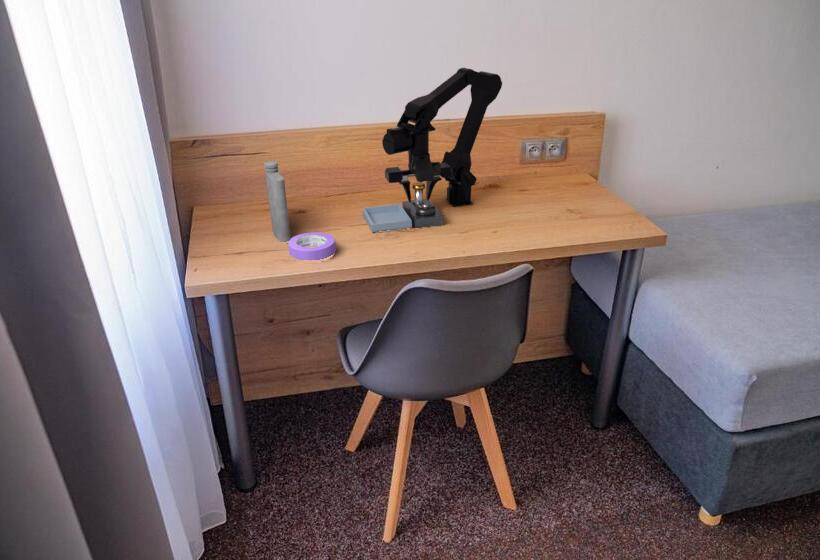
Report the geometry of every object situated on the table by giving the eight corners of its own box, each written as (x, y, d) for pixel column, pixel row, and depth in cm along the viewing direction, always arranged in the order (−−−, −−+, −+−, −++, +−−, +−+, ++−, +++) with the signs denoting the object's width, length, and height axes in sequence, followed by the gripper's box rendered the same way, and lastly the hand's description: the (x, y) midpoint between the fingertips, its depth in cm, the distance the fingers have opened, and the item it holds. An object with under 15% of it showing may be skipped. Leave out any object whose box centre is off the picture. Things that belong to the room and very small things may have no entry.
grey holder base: (428, 208, 188) (428, 191, 186) (442, 225, 176) (442, 207, 174) (402, 211, 186) (402, 193, 184) (415, 228, 174) (415, 210, 172)
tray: (400, 211, 186) (399, 203, 185) (411, 228, 175) (411, 220, 173) (362, 215, 183) (362, 207, 182) (372, 233, 172) (371, 224, 171)
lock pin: (422, 211, 186) (422, 182, 182) (426, 215, 183) (426, 186, 179) (411, 212, 185) (411, 183, 181) (414, 216, 182) (414, 187, 178)
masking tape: (292, 245, 166) (290, 232, 164) (336, 244, 167) (335, 230, 165) (287, 265, 156) (286, 251, 154) (334, 263, 156) (333, 249, 154)
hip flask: (291, 243, 167) (283, 170, 157) (276, 245, 166) (267, 172, 156) (283, 221, 180) (275, 153, 171) (269, 223, 179) (260, 154, 170)
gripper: (392, 159, 166) (394, 214, 173) (459, 153, 170) (458, 207, 178) (383, 148, 176) (385, 200, 183) (446, 142, 180) (446, 194, 187)
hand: (418, 200), depth 182 cm, fingers open, 5 cm apart
